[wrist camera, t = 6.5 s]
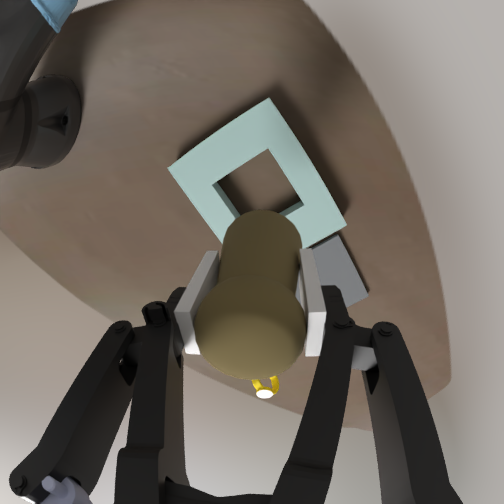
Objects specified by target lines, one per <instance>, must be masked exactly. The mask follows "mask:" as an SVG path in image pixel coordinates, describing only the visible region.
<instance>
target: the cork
mask: <svg viewBox="0 0 504 504" xmlns="http://www.w3.org/2000/svg"><path fill="white" fill-rule="evenodd" d="M302 247H303V246H302V241H301V236H300V233H299V232H298V230H297V228H296V227H295V225H294V224H293V223H292V222H291V221H290V220H289V219H287V218H286V217H285V216H284V215H281V214H279V213H276V212H274V211H269V210H255V211H250V212H246V213H244V214H243V215H241V216H239V217H238V218H236V219H235V220H234V221H233V222H232V223H231V225H230V226H229V227H228V228H227V231H226V233H225V236H224V239H223V245H222V251H221V258H220V265H219V272H218V279H217V285H216V286H215V287H214V288H213V289H212V290H211V291H210V292H209V293H208V294H207V295H206V296H205V298H204V299H203V300H202V302H201V304H200V306H199V308H198V311H197V314H196V317H195V320H194V332H195V341H196V343H197V345H198V348H199V350H200V351H201V353H202V355H203V357H204V359H205V360H206V361H207V362H208V363H209V364H210V365H211V366H212V367H214V368H215V369H217V370H219V371H220V372H222V373H224V374H226V375H229V376H232V377H235V378H239V379H248V380H258V379H267V378H270V377H273V376H276V375H279V374H281V373H282V372H284V371H285V370H287V369H288V368H290V367H291V366H292V364H293V363H294V362H295V361H296V360H297V358H298V357H299V356H300V354H301V353H302V351H303V347H304V343H305V339H306V335H307V325H306V319H305V314H304V310H303V308H302V306H301V304H300V303H299V301H298V300H297V298H296V297H295V296H296V289H297V283H298V276H299V269H300V249H302Z"/></svg>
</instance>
